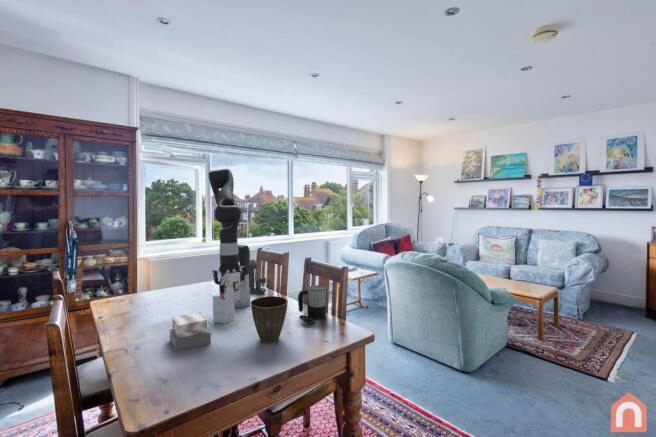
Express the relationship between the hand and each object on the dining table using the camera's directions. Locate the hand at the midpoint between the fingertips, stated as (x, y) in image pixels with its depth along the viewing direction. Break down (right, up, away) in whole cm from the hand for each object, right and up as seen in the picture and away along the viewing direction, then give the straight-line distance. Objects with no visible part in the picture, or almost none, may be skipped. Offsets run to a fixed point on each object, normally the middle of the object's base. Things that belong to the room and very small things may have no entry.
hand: (230, 292), depth 141 cm
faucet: (-6, -15, +69) cm, 71 cm away
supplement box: (-8, -18, +18) cm, 27 cm away
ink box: (0, -3, 0) cm, 3 cm away
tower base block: (-14, -19, -6) cm, 25 cm away
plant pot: (+18, -19, -4) cm, 26 cm away
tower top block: (-15, -14, -6) cm, 21 cm away
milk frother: (+34, -18, +19) cm, 43 cm away
